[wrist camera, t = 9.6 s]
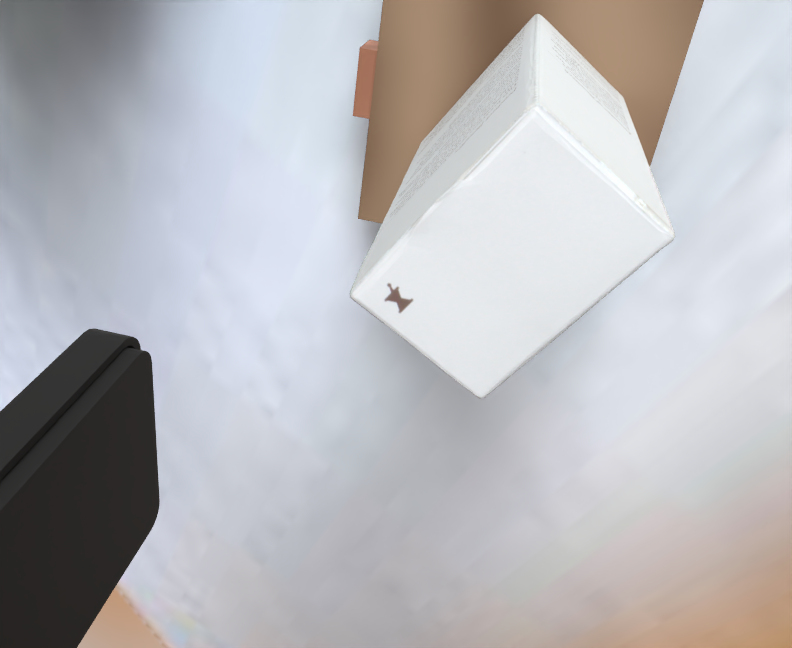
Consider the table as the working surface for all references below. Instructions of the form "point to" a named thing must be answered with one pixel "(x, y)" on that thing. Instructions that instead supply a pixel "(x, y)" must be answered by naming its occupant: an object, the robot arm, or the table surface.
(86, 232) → the table surface
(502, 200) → the skincare box
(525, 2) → the gift box
